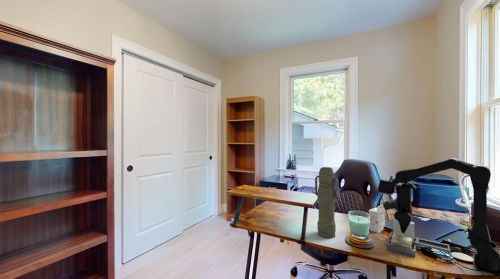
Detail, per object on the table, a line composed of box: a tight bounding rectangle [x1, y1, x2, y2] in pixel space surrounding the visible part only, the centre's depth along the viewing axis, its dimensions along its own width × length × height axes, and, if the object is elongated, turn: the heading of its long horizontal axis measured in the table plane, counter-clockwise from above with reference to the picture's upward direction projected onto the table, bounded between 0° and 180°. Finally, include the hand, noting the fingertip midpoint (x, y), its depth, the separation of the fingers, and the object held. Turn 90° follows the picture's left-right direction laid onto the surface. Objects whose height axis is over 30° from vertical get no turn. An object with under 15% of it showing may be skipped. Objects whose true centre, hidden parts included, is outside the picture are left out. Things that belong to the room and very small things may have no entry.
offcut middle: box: [391, 239, 411, 249], centre depth 97 cm, size 7×4×2 cm, turn 52°
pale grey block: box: [392, 218, 415, 241], centre depth 104 cm, size 8×2×10 cm, turn 52°
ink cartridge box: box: [368, 204, 386, 233], centre depth 119 cm, size 9×5×15 cm, turn 126°
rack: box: [386, 231, 451, 258], centre depth 97 cm, size 22×17×4 cm
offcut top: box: [392, 234, 412, 246], centre depth 97 cm, size 7×4×2 cm, turn 52°
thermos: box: [314, 166, 340, 239], centre depth 114 cm, size 9×12×35 cm
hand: (403, 229), depth 104 cm, fingers open, 9 cm apart
